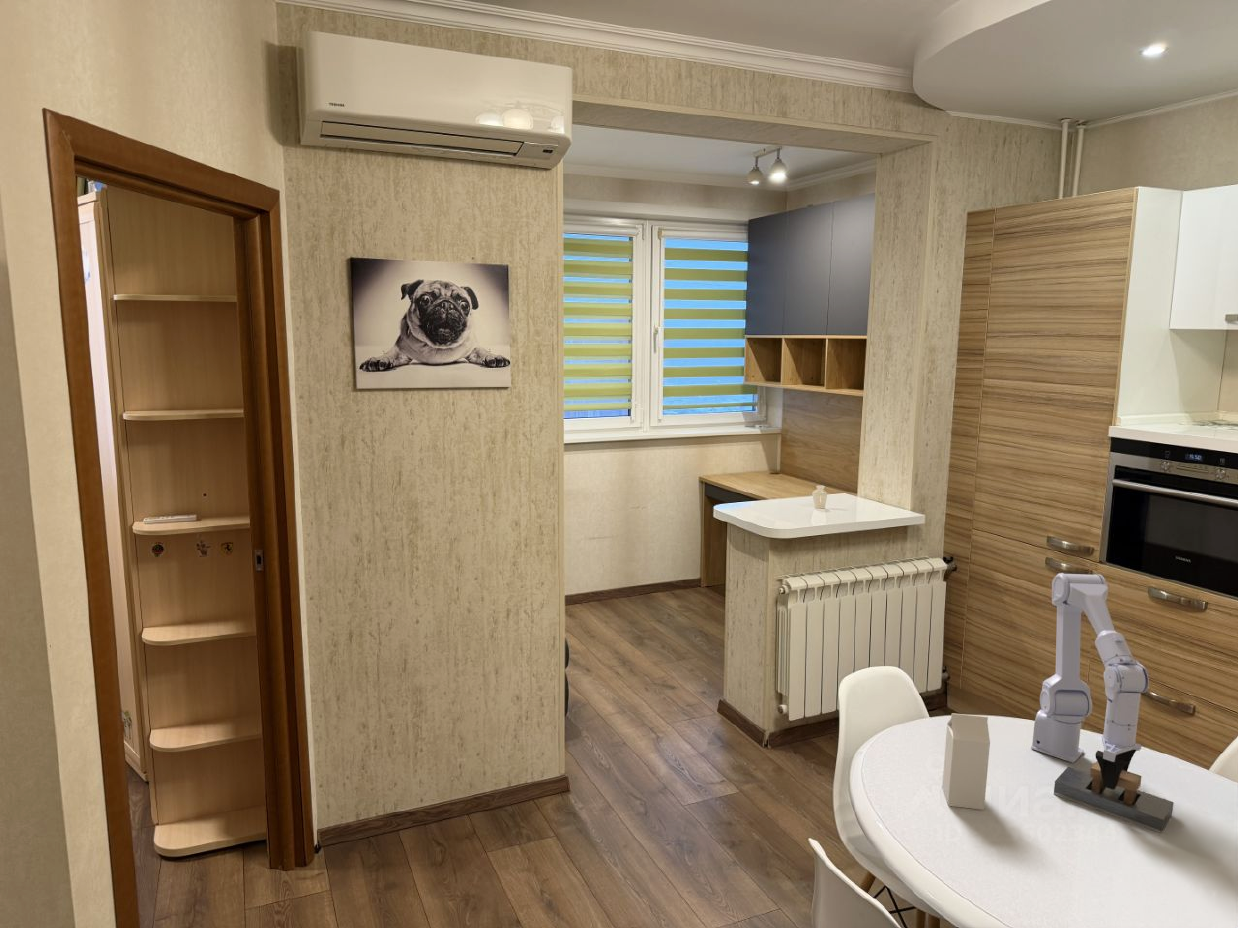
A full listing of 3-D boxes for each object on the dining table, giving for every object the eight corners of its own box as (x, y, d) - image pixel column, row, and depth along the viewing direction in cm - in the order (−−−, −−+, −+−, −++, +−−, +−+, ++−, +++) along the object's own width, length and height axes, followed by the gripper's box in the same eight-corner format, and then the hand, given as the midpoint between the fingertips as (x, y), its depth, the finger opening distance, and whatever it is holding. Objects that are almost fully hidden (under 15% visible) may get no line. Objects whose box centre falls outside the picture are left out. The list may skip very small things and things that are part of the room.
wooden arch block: (1087, 798, 176) (1091, 767, 175) (1093, 791, 179) (1096, 761, 178) (1132, 814, 170) (1136, 782, 169) (1137, 806, 173) (1141, 775, 172)
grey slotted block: (1053, 793, 178) (1055, 780, 178) (1066, 778, 184) (1068, 766, 184) (1161, 833, 164) (1163, 819, 164) (1171, 815, 171) (1173, 802, 170)
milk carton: (984, 810, 171) (991, 724, 168) (947, 806, 173) (954, 720, 170) (976, 792, 178) (983, 709, 175) (941, 788, 180) (948, 706, 177)
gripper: (1134, 737, 164) (1126, 801, 166) (1152, 715, 174) (1144, 775, 176) (1094, 725, 169) (1088, 787, 171) (1114, 704, 179) (1107, 763, 181)
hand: (1114, 780), depth 174 cm, fingers open, 7 cm apart
